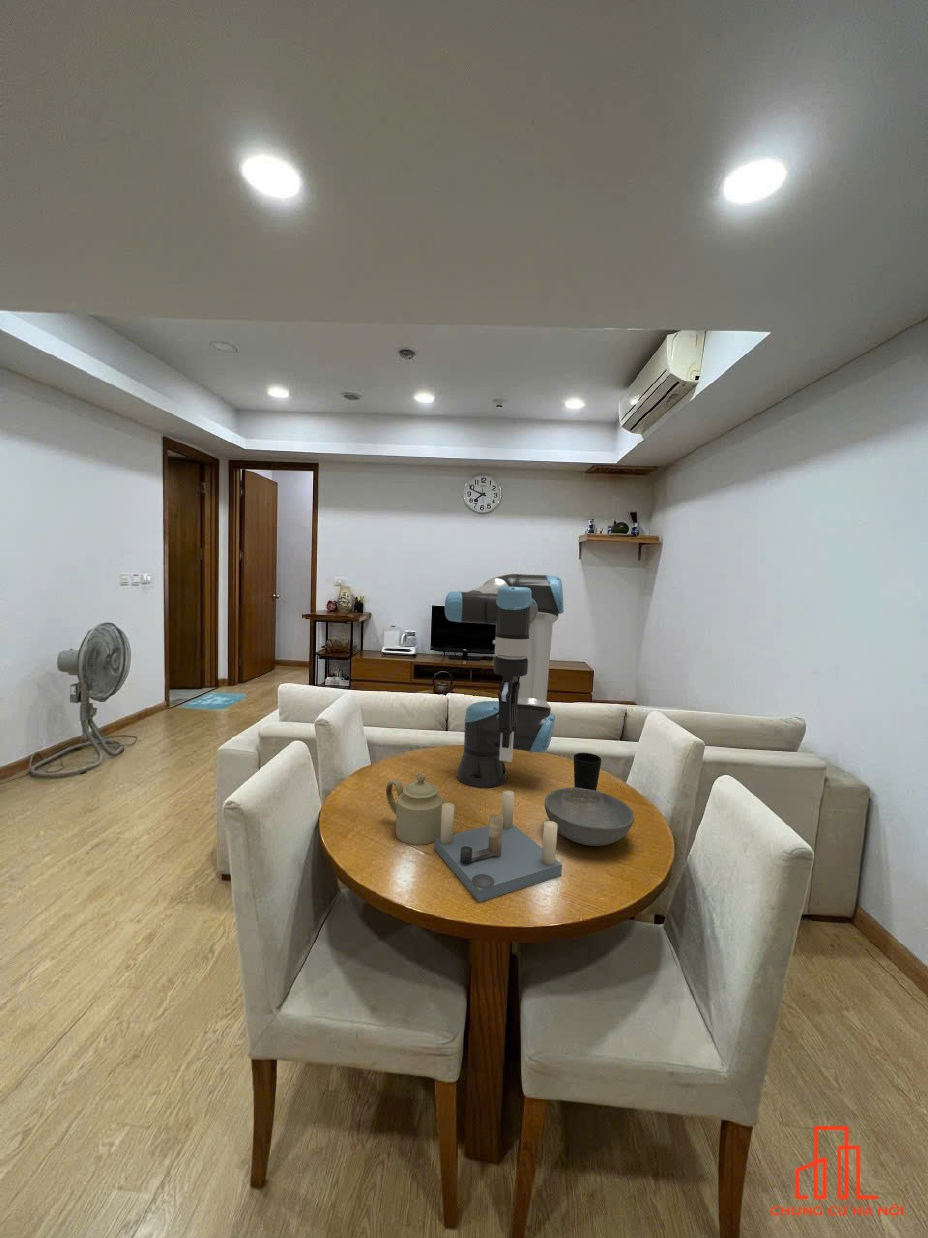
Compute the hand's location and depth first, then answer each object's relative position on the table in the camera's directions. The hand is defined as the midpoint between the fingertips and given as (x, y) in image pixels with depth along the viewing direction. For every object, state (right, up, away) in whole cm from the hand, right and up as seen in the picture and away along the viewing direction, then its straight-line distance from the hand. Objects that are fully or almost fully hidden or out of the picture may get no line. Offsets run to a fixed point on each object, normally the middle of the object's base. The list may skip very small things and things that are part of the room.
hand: (505, 760), depth 111 cm
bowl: (+20, -21, +9) cm, 31 cm away
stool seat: (-3, -21, -4) cm, 22 cm away
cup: (+25, -20, +29) cm, 43 cm away
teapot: (-22, -20, +7) cm, 30 cm away
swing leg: (-6, -18, -7) cm, 20 cm away
